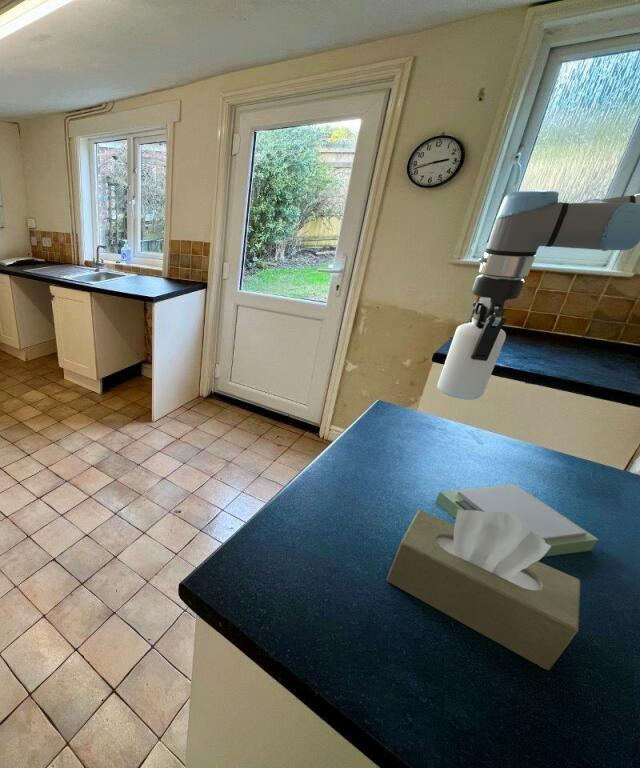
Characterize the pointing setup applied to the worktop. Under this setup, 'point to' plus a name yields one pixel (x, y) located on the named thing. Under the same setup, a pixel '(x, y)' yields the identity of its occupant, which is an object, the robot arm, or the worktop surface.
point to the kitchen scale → (521, 515)
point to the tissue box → (490, 581)
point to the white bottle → (468, 364)
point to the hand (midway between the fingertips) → (461, 383)
